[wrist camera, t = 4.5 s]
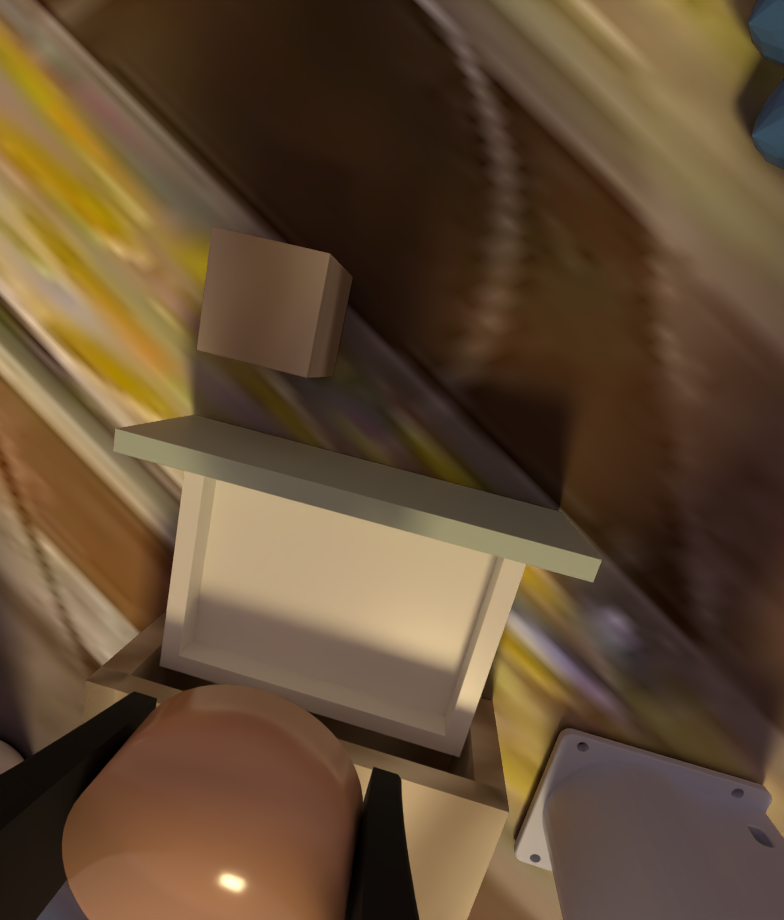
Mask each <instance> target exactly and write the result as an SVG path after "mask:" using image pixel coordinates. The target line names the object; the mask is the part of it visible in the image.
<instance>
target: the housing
mask: <svg viewBox="0 0 784 920" xmlns="http://www.w3.org/2000/svg"><path fill="white" fill-rule="evenodd" d="M166 612H167V610H166V611H165V612H164V613H163V614H162V615H161V616H159V617H158V618H157V619H156V620H155V621H154V622H152V623H151V624H150V625H149V626H148V627H147V628H146V629H144V630H143V631H142V632H141V633H140V634H139V635H138V636H136V637H135V638H134V639H133V640H132V641H131V642H129V643H128V644H127V645H126V646H125V647H124V648H123V649H121V650H120V651H119V652H118V653H117V654H116V655H115V656H113V657H112V658H111V659H110V660H109V661H108V662H106V663H105V664H104V665H103V666H102V667H101V668H100V669H98V670H97V671H96V672H95V673H94V674H93V675H91V676H90V677H89V678H88V679H87V680H86V683H85V695H84V707H83V720H82V724H83V723H85V722H87V721H88V720H90V719H91V718H93V717H94V716H96V715H97V714H99V713H100V712H102V711H104V710H105V709H107V708H108V707H110V706H111V705H113V704H114V703H116V702H117V701H119V700H121V699H122V698H124V697H125V696H127V695H128V694H130V693H132V692H134V691H135V692H138V693H142V694H145V695H148V696H151V697H154V698H157V704H156V708H157V707H158V706H159V705H160V704H161V703H163V702H164V701H166V700H167V699H169V698H170V697H172V696H174V695H176V694H179V693H181V692H183V691H186V690H189V689H193V688H196V687H201V686H208V685H221V684H217V683H214V682H211V681H207V680H204V679H201V678H198V677H194V676H191V675H188V674H185V673H181V672H178V671H175V670H171V669H168V668H165V667H162V666H160V658H161V650H162V642H163V635H164V627H165V619H166ZM308 712H309V711H308ZM309 713H310V714H311V715H313V716H314V717H315V718H317V719H318V720H319V721H320V722H322V723H323V724H324V725H325V726H326V727H327V728H328V729H329V730H330V731H331V732H332V733H333V734H334V736H335V737H336V738H337V739H338V740H339V742H340V743H341V744H342V746H343V747H344V749H345V750H346V752H347V753H348V755H349V756H350V758H351V760H352V762H353V765H354V767H355V769H356V771H357V774H358V777H359V780H360V784H361V789H362V795H363V801H364V797H365V794H366V790H367V787H368V783H369V780H370V776H371V773H372V770H373V767H377V768H380V769H383V770H386V771H389V772H392V773H396V774H398V775H399V776H400V778H401V780H402V803H403V815H404V825H405V833H406V841H407V849H408V855H409V862H410V868H411V874H412V880H413V886H414V892H415V898H416V903H417V909H418V914H419V919H420V920H467V918H468V916H469V913H470V911H471V908H472V906H473V903H474V901H475V898H476V895H477V893H478V890H479V888H480V885H481V883H482V880H483V878H484V875H485V873H486V870H487V868H488V865H489V863H490V860H491V858H492V855H493V852H494V850H495V847H496V845H497V842H498V840H499V837H500V835H501V832H502V830H503V827H504V825H505V822H506V820H507V817H508V814H509V807H508V800H507V794H506V787H505V780H504V774H503V767H502V760H501V754H500V747H499V741H498V734H497V727H496V721H495V714H494V707H493V701H490V700H487V699H484V698H480V699H479V702H478V705H477V708H476V711H475V714H474V717H473V720H472V723H471V726H470V728H469V731H468V734H467V737H466V740H465V743H464V746H463V749H462V752H461V754H460V757H456V756H453V755H450V754H447V753H443V752H440V751H437V750H433V749H430V748H427V747H424V746H420V745H417V744H414V743H410V742H407V741H404V740H401V739H397V738H394V737H391V736H388V735H384V734H381V733H378V732H374V731H371V730H368V729H365V728H361V727H358V726H355V725H352V724H348V723H345V722H342V721H338V720H335V719H332V718H329V717H325V716H322V715H319V714H316V713H312V712H309ZM69 887H70V885H69Z"/></svg>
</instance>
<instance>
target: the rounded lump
mask: <svg viewBox="0 0 784 920" xmlns="http://www.w3.org/2000/svg"><path fill="white" fill-rule="evenodd" d="M362 815H363V795H362V789H361V784H360V780H359V777H358V774H357V771H356V769H355V767H354V765H353V762H352V760H351V758H350V756H349V755H348V753H347V752H346V750H345V749H344V747H343V746H342V744H341V743H340V742H339V740H338V739H337V738H336V737H335V736H334V734H333V733H332V732H331V731H330V730H329V729H328V728H327V727H326V726H325V725H324V724H323V723H322V722H320V721H319V720H318V719H317V718H315V717H314V716H313V715H311V714H310V713H309V712H308V711H306V710H304V709H303V708H301V707H300V706H298V705H296V704H295V703H293V702H291V701H289V700H287V699H284V698H282V697H280V696H278V695H276V694H273V693H270V692H267V691H264V690H261V689H256V688H251V687H247V686H239V685H229V684H225V685H208V686H201V687H196V688H193V689H189V690H186V691H183V692H181V693H179V694H176V695H174V696H172V697H170V698H169V699H167V700H166V701H164V702H163V703H161V704H160V705H159V706H158V707H157V708H155V709H154V710H153V711H152V712H151V713H150V714H149V715H148V717H147V718H146V719H145V720H144V721H143V722H142V724H141V725H140V726H139V727H138V728H137V729H136V731H135V732H134V733H133V734H132V735H131V737H130V738H129V739H128V740H127V741H126V742H125V744H124V745H123V746H122V747H121V748H120V749H119V751H118V752H117V753H116V754H115V755H114V757H113V758H112V759H111V760H110V761H109V762H108V764H107V765H106V766H105V767H104V768H103V769H102V771H101V772H100V773H99V774H98V775H97V777H96V778H95V779H94V780H93V781H92V782H91V784H90V785H89V786H88V787H87V788H86V789H85V791H84V792H83V793H82V794H81V796H80V797H79V798H78V799H77V801H76V802H75V803H74V805H73V807H72V809H71V811H70V813H69V815H68V817H67V820H66V824H65V827H64V831H63V839H62V858H63V863H64V869H65V873H66V876H67V879H68V882H69V885H70V888H71V890H72V892H73V894H74V896H75V898H76V900H77V902H78V904H79V905H80V907H81V909H82V910H83V912H84V913H85V915H86V916H87V918H88V919H89V920H344V918H345V912H346V907H347V901H348V895H349V890H350V884H351V878H352V872H353V867H354V861H355V855H356V849H357V844H358V838H359V832H360V826H361V821H362Z"/></svg>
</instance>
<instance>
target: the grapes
mask: <svg viewBox="0 0 784 920" xmlns="http://www.w3.org/2000/svg"><path fill="white" fill-rule="evenodd" d="M748 26H749V31H750V34H751V38H752V42H753V44H754V45H755V46H756V48H757V49H758V51H759V52H760V53H761V55H762V56H763V57H764V58H765V59H767V60H770V61H772V62H775V63H777V64H779V65H782V66H784V0H757V1H756V3H755V6H754V8H753V10H752V12H751V15H750V19H749V22H748ZM752 138H753V141H754V144H755V147H756V148H757V150H758V151H759V152H760V153H761V155H762V156H763V157H764V159H765V160H766V161H767V162H769V163H771V164H774V165H776V166H778V167H780V168H782V169H784V79H783V80H782V82H781V83H780V84H779V85H778V86H777V88H776V89H775V90H774V91H773V93H772V94H771V95H770V96H769V97H768V99H767V100H766V101H765V103H764V105H763V107H762V109H761V111H760V113H759V115H758V117H757V119H756V121H755V124H754V128H753V132H752Z"/></svg>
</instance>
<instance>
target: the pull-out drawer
mask: <svg viewBox="0 0 784 920" xmlns="http://www.w3.org/2000/svg"><path fill="white" fill-rule="evenodd" d="M114 452H118V453H121V454H125V455H129V456H132V457H136V458H140V459H143V460H147V461H151V462H154V463H158V464H162V465H165V466H169V467H172V468H176V469H180V470H183V471H185V472H184V480H183V488H182V496H181V503H180V511H179V519H178V527H177V534H176V542H175V550H174V557H173V565H172V573H171V581H170V588H169V596H168V604H167V612H166V619H165V627H164V635H163V642H162V650H161V658H160V666H162V667H165V668H168V669H171V670H175V671H178V672H181V673H185V674H188V675H191V676H194V677H198V678H201V679H204V680H207V681H211V682H214V683H217V684H221V685H225V684H229V685H239V686H247V687H251V688H256V689H261V690H264V691H267V692H270V693H273V694H276V695H278V696H280V697H282V698H284V699H287V700H289V701H291V702H293V703H295V704H296V705H298V706H300V707H301V708H303V709H304V710H306V711H309V712H312V713H316V714H319V715H322V716H325V717H329V718H332V719H335V720H338V721H342V722H345V723H348V724H352V725H355V726H358V727H361V728H365V729H368V730H371V731H374V732H378V733H381V734H384V735H388V736H391V737H394V738H397V739H401V740H404V741H407V742H410V743H414V744H417V745H420V746H424V747H427V748H430V749H433V750H437V751H440V752H443V753H447V754H450V755H453V756H456V757H460V754H461V752H462V749H463V746H464V743H465V740H466V737H467V734H468V731H469V728H470V726H471V723H472V720H473V717H474V714H475V711H476V708H477V705H478V702H479V699H480V697H481V694H482V691H483V688H484V685H485V682H486V679H487V676H488V673H489V671H490V668H491V665H492V662H493V659H494V656H495V653H496V650H497V647H498V645H499V642H500V639H501V636H502V633H503V630H504V627H505V624H506V621H507V618H508V616H509V613H510V610H511V607H512V604H513V601H514V598H515V595H516V592H517V590H518V587H519V584H520V581H521V578H522V575H523V572H524V569H525V566H526V564H527V565H531V566H534V567H538V568H542V569H545V570H549V571H553V572H556V573H560V574H564V575H567V576H571V577H575V578H578V579H582V580H586V581H589V582H594V579H595V577H596V574H597V571H598V569H599V566H600V564H601V561H602V559H601V558H600V557H599V556H598V555H597V554H596V552H595V551H594V550H593V549H592V548H591V546H590V545H589V544H588V543H587V542H586V540H585V539H584V538H583V537H582V536H581V534H580V533H579V532H578V531H577V530H576V529H575V527H574V526H573V525H572V524H571V523H570V521H569V520H568V519H567V518H566V517H565V515H564V514H563V513H562V512H560V511H556V510H552V509H549V508H545V507H541V506H537V505H534V504H530V503H526V502H522V501H518V500H515V499H511V498H507V497H503V496H500V495H496V494H492V493H488V492H484V491H481V490H477V489H473V488H469V487H465V486H462V485H458V484H454V483H450V482H447V481H443V480H439V479H435V478H431V477H428V476H424V475H420V474H416V473H413V472H409V471H405V470H401V469H397V468H394V467H390V466H386V465H382V464H378V463H375V462H371V461H367V460H363V459H360V458H356V457H352V456H348V455H344V454H341V453H337V452H333V451H329V450H326V449H322V448H318V447H314V446H310V445H307V444H303V443H299V442H295V441H291V440H288V439H284V438H280V437H276V436H273V435H269V434H265V433H261V432H257V431H254V430H250V429H246V428H242V427H239V426H235V425H231V424H227V423H223V422H220V421H216V420H212V419H208V418H204V417H201V416H197V415H190V416H184V417H178V418H173V419H167V420H162V421H156V422H150V423H145V424H139V425H134V426H128V427H122V428H117V429H115V440H114Z"/></svg>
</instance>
